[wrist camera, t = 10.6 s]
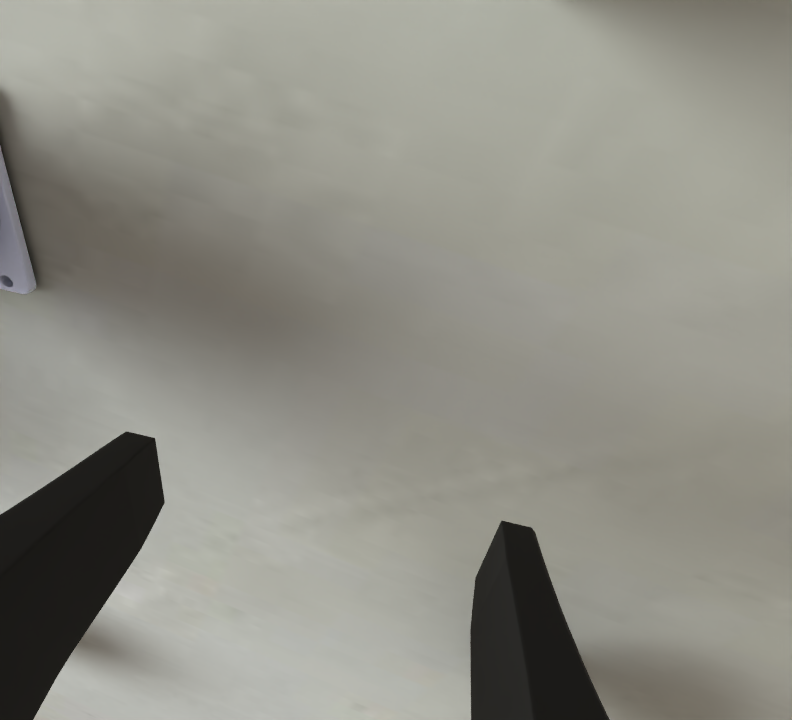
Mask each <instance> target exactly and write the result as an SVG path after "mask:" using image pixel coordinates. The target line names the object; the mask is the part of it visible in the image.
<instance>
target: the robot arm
mask: <svg viewBox="0 0 792 720" xmlns="http://www.w3.org/2000/svg"><path fill="white" fill-rule="evenodd" d="M9 278H10V279H11V280H12V281H11V280H10V279H9ZM35 288H36V281H35V277H34V273H33V269H32V265H31V262H30V258H29V254H28V250H27V246H26V242H25V239H24V235H23V231H22V227H21V223H20V220H19V216H18V212H17V208H16V204H15V200H14V197H13V193H12V189H11V185H10V181H9V177H8V174H7V170H6V166H5V162H4V158H3V155H2V151H1V147H0V289H3V290H7V291H11V292H15V293H20V294H28V293H30V292H32V291H33V290H35ZM164 503H165V502H164V495H163V489H162V482H161V475H160V469H159V462H158V455H157V449H156V442H155V438H152V437H147V436H143V435H139V434H135V433H130V432H125V433H123V434H122V435H120V436H119V437H117V438H116V439H114V440H113V441H111V442H110V443H108V444H107V445H105V446H104V447H102V448H101V449H99V450H98V451H96V452H95V453H93V454H92V455H90V456H89V457H87V458H86V459H85V460H83V461H82V462H80V463H79V464H77V465H76V466H74V467H73V468H71V469H70V470H68V471H67V472H65V473H64V474H62V475H61V476H59V477H58V478H56V479H55V480H53V481H52V482H50V483H49V484H47V485H46V486H44V487H43V488H41V489H40V490H38V491H37V492H35V493H33V494H32V495H30V496H29V497H27V498H26V499H24V500H23V501H21V502H20V503H18V504H17V505H15V506H14V507H12V508H10V509H9V510H7V511H6V512H4V513H2V514H1V515H0V720H33V719H34V717H35V715H36V713H37V712H38V710H39V708H40V706H41V704H42V703H43V701H44V699H45V697H46V695H47V693H48V692H49V690H50V688H51V686H52V684H53V683H54V681H55V679H56V677H57V676H58V674H59V672H60V671H61V669H62V668H63V666H64V664H65V663H66V661H67V660H68V658H69V656H70V655H71V653H72V652H73V650H74V649H75V647H76V646H77V644H78V643H79V641H80V640H81V638H82V637H83V635H84V634H85V632H86V631H87V629H88V628H89V626H90V625H91V623H92V622H93V620H94V619H95V617H96V616H97V614H98V613H99V611H100V610H101V608H102V607H103V605H104V604H105V602H106V601H107V599H108V598H109V596H110V595H111V593H112V592H113V591H114V589H115V588H116V586H117V585H118V583H119V582H120V580H121V578H122V577H123V575H124V574H125V572H126V571H127V569H128V568H129V566H130V565H131V563H132V562H133V560H134V559H135V557H136V556H137V554H138V553H139V551H140V550H141V548H142V546H143V544H144V542H145V540H146V538H147V536H148V535H149V533H150V531H151V529H152V527H153V525H154V523H155V521H156V519H157V517H158V515H159V513H160V511H161V509H162V507H163V505H164ZM471 720H609V718H608V716H607V714H606V712H605V709H604V707H603V705H602V703H601V701H600V699H599V696H598V694H597V692H596V690H595V688H594V686H593V684H592V681H591V679H590V677H589V675H588V672H587V670H586V668H585V666H584V663H583V661H582V659H581V656H580V654H579V652H578V649H577V647H576V644H575V642H574V639H573V637H572V634H571V632H570V630H569V627H568V625H567V622H566V620H565V617H564V615H563V612H562V609H561V607H560V604H559V602H558V599H557V596H556V593H555V591H554V588H553V585H552V582H551V580H550V577H549V574H548V571H547V568H546V565H545V562H544V559H543V556H542V553H541V550H540V547H539V544H538V540H537V537H536V534H535V532H534V530H533V529H532V528H531V527H526V526H522V525H518V524H514V523H509V522H505V521H501V523H500V525H499V527H498V530H497V532H496V534H495V536H494V538H493V541H492V543H491V545H490V547H489V549H488V552H487V554H486V556H485V558H484V560H483V563H482V565H481V567H480V569H479V571H478V574H477V576H476V579H475V589H474V599H473V609H472V620H471Z"/></svg>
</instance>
